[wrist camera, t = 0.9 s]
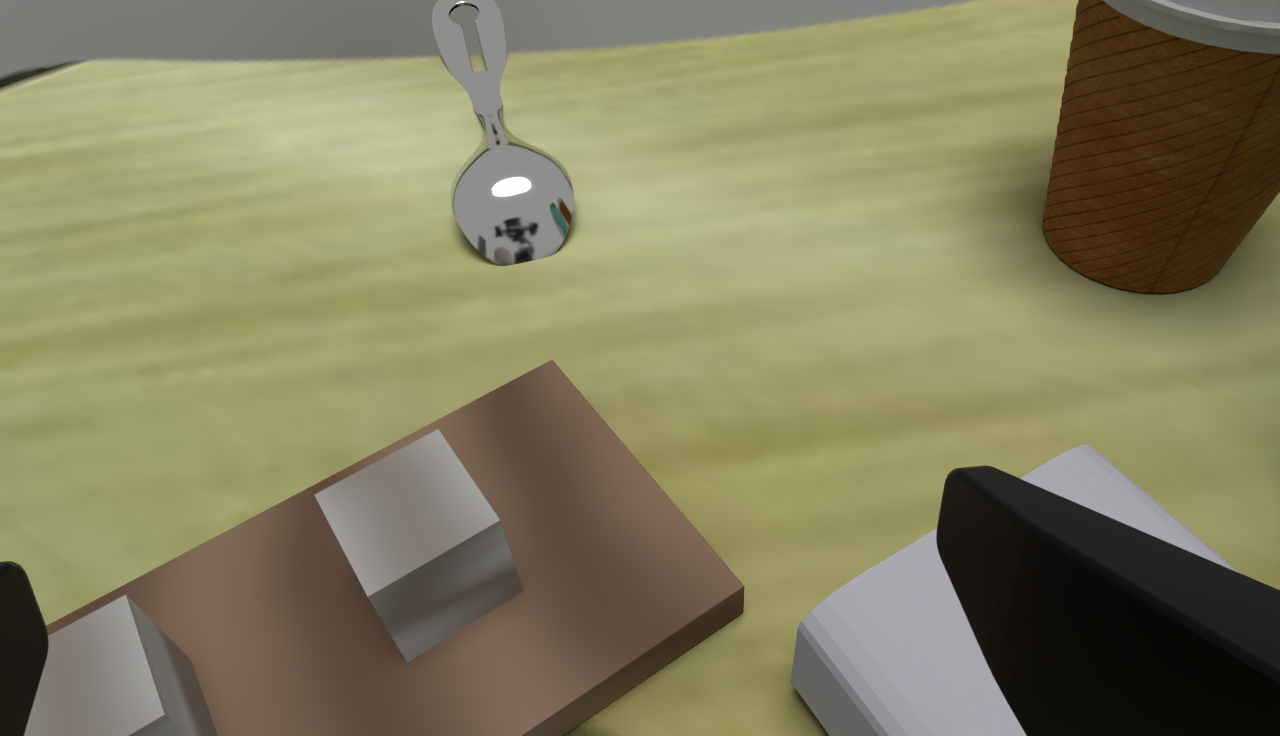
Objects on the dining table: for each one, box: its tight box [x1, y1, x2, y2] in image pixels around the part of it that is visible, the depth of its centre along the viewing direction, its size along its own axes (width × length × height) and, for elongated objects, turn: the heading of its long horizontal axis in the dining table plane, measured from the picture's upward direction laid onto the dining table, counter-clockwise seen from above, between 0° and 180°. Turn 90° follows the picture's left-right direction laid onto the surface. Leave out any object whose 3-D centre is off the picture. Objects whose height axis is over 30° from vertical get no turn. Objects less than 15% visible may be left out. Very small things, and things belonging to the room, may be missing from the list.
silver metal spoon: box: [432, 0, 573, 266], centre depth 41 cm, size 20×4×5 cm
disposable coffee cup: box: [1043, 0, 1280, 293], centre depth 30 cm, size 10×10×12 cm
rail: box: [24, 360, 744, 736], centre depth 24 cm, size 17×10×5 cm, turn 124°
